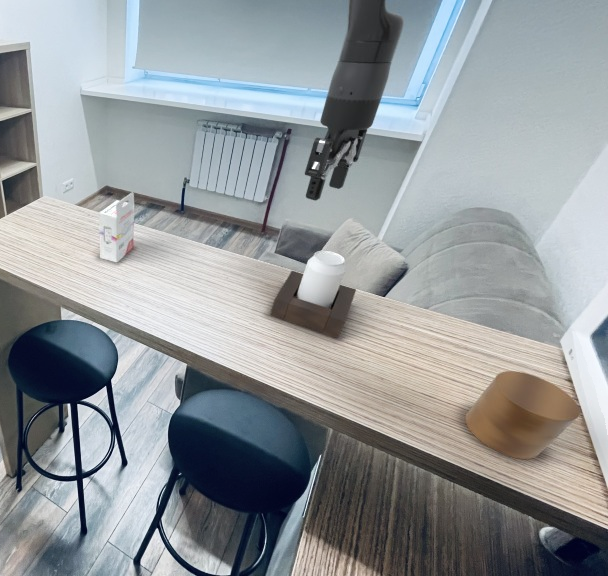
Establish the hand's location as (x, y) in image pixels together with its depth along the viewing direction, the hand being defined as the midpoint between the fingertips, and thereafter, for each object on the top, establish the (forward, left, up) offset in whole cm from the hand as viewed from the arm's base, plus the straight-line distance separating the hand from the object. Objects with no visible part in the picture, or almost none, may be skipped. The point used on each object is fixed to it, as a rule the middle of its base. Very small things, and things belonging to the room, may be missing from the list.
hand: (324, 193), depth 73 cm
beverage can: (-6, +4, -21) cm, 22 cm away
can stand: (-6, +4, -21) cm, 22 cm away
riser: (-37, +10, -21) cm, 43 cm away
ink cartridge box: (+35, +19, -21) cm, 45 cm away
